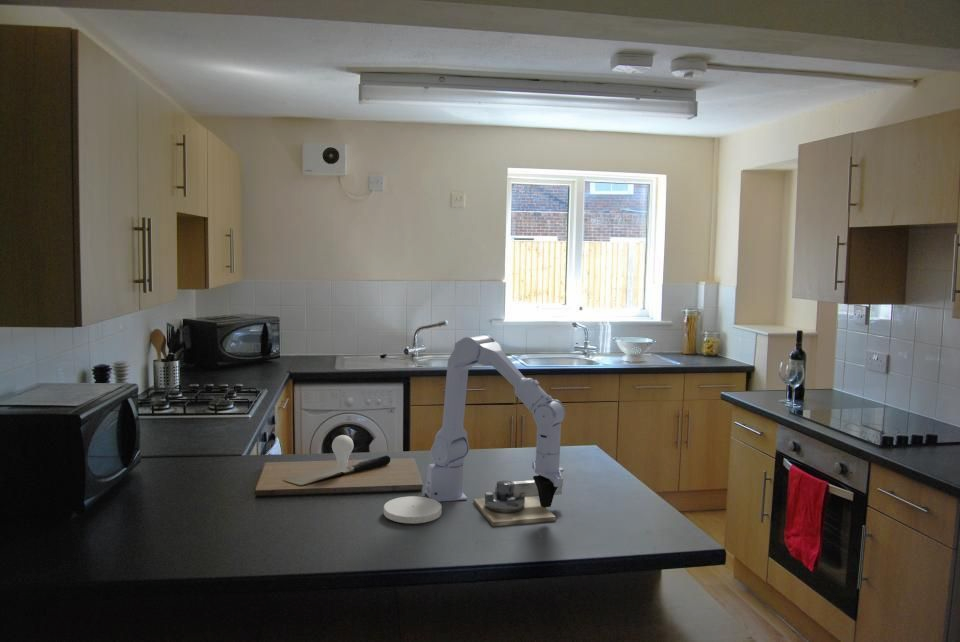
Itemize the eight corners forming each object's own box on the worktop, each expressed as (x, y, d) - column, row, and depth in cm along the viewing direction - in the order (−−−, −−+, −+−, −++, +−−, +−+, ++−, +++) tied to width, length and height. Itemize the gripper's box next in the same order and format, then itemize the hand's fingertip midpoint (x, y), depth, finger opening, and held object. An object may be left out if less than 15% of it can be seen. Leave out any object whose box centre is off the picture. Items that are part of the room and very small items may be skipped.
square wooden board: (492, 526, 166) (493, 520, 166) (472, 501, 182) (472, 496, 181) (555, 520, 170) (555, 515, 170) (530, 497, 186) (530, 492, 186)
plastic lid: (448, 510, 176) (449, 500, 176) (429, 531, 163) (430, 520, 162) (396, 503, 180) (397, 493, 179) (374, 522, 166) (374, 512, 166)
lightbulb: (341, 477, 197) (342, 439, 196) (327, 473, 201) (327, 435, 200) (357, 472, 202) (358, 435, 201) (343, 468, 206) (343, 431, 205)
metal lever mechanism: (491, 514, 170) (492, 491, 169) (479, 500, 179) (480, 478, 179) (567, 508, 176) (568, 485, 175) (552, 494, 185) (553, 473, 184)
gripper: (576, 459, 163) (573, 515, 164) (551, 442, 177) (549, 494, 178) (547, 460, 161) (545, 518, 162) (525, 443, 174) (523, 496, 176)
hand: (545, 506), depth 170 cm, fingers closed
